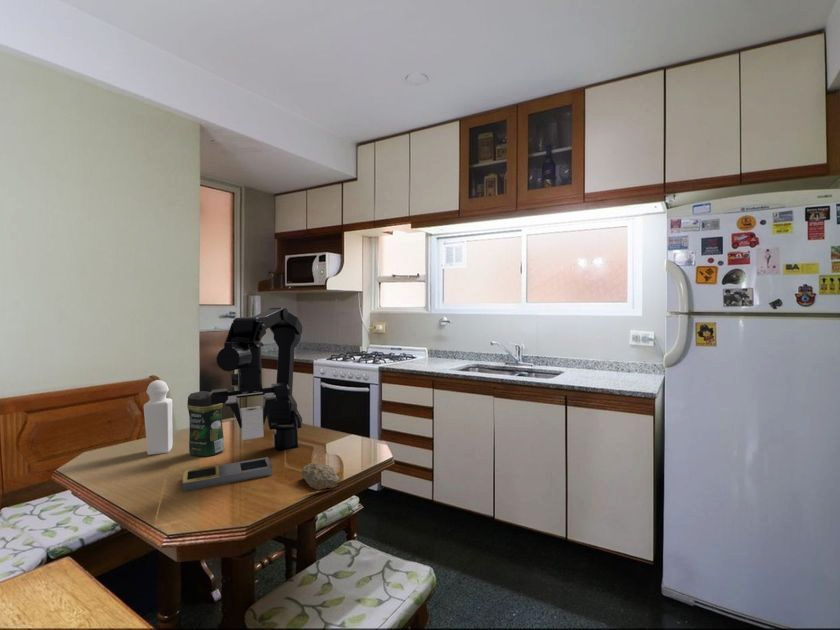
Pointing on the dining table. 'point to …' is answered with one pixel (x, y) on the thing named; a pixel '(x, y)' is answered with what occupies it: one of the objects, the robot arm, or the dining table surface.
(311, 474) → the rock
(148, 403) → the white bottle
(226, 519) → the dining table surface
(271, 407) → the robot arm
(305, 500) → the dining table surface
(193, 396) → the coffee jar
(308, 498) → the dining table surface
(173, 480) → the dining table surface
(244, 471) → the grey socket board
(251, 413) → the square slider block
